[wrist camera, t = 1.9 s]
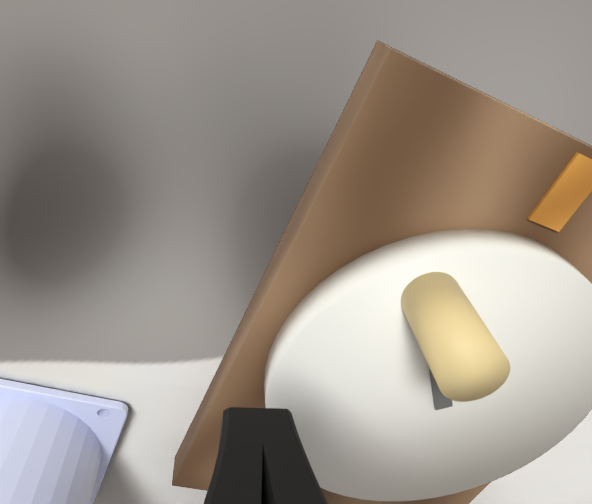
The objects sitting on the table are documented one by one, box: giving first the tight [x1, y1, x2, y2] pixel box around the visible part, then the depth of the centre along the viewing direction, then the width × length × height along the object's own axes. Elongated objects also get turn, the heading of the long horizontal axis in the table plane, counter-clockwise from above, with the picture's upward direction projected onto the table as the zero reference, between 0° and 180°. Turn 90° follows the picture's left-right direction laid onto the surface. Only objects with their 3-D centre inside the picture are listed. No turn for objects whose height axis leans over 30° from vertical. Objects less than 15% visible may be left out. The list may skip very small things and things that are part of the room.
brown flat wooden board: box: [172, 41, 592, 504], centre depth 21 cm, size 16×21×2 cm
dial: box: [264, 229, 592, 501], centre depth 18 cm, size 14×14×5 cm
